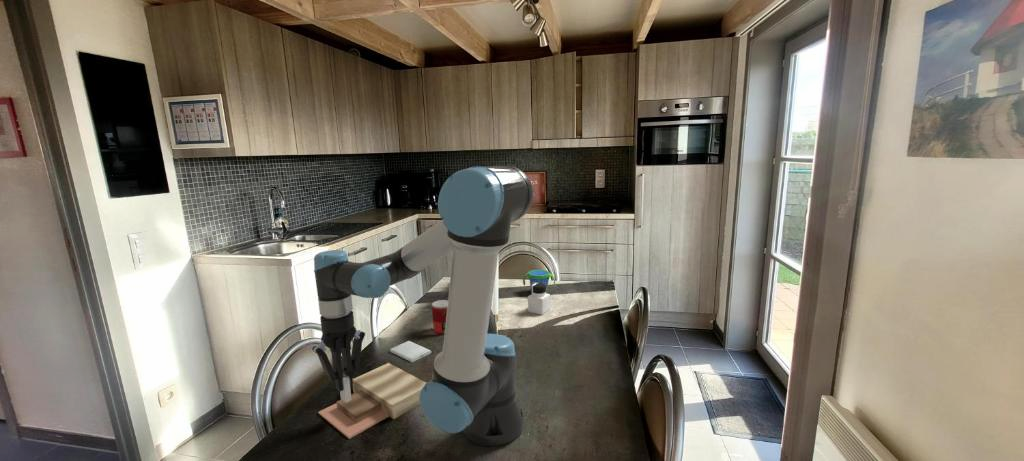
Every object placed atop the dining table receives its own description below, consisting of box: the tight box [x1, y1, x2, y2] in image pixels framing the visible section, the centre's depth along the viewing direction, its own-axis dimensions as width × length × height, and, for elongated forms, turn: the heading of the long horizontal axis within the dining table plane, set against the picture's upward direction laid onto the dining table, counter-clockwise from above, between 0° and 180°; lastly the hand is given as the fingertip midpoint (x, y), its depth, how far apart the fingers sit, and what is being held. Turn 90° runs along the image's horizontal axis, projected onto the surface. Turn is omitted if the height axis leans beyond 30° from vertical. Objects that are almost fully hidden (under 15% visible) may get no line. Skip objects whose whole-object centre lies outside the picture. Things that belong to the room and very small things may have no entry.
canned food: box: [431, 299, 448, 335], centre depth 157 cm, size 8×8×11 cm
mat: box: [317, 402, 390, 440], centre depth 107 cm, size 16×11×1 cm
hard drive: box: [389, 340, 432, 363], centre depth 141 cm, size 2×8×12 cm
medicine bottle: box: [527, 283, 551, 316], centre depth 174 cm, size 7×7×12 cm
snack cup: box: [522, 269, 556, 294], centre depth 198 cm, size 16×10×10 cm
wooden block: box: [336, 390, 381, 423], centre depth 109 cm, size 10×7×2 cm
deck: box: [352, 362, 427, 420], centre depth 115 cm, size 20×12×4 cm, turn 50°
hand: (346, 399), depth 105 cm, fingers closed
